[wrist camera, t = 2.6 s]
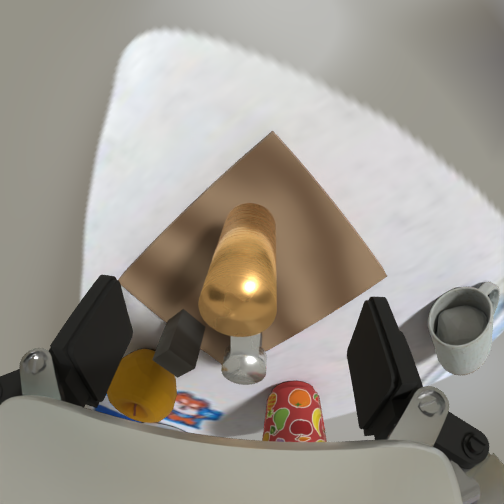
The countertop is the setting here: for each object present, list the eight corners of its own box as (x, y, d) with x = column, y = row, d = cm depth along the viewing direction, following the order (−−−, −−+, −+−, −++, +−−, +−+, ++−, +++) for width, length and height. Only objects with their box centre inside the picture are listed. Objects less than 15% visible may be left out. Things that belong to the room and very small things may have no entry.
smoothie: (286, 413, 40) (284, 538, 22) (248, 389, 37) (235, 532, 20) (335, 392, 37) (349, 530, 19) (301, 365, 34) (306, 528, 17)
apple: (121, 366, 37) (100, 416, 29) (121, 326, 33) (92, 382, 25) (179, 385, 38) (165, 439, 30) (189, 348, 34) (171, 411, 26)
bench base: (231, 360, 34) (224, 409, 28) (123, 273, 29) (93, 317, 23) (382, 267, 27) (406, 315, 21) (272, 130, 22) (273, 144, 16)
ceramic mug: (431, 347, 32) (451, 393, 25) (417, 308, 29) (443, 359, 22) (495, 305, 29) (523, 345, 22) (490, 260, 26) (527, 301, 19)
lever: (264, 370, 28) (260, 457, 20) (224, 366, 29) (210, 453, 20) (283, 196, 20) (290, 280, 11) (223, 192, 20) (186, 272, 11)
